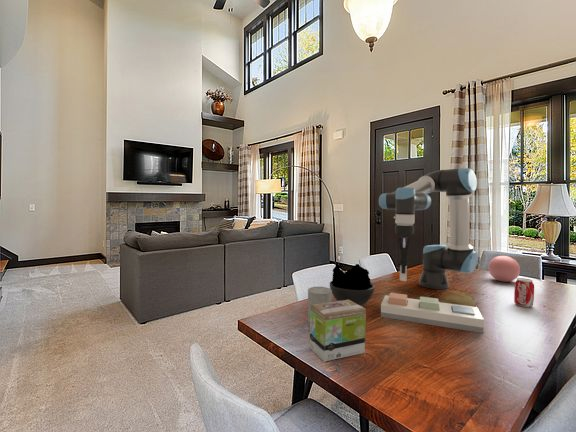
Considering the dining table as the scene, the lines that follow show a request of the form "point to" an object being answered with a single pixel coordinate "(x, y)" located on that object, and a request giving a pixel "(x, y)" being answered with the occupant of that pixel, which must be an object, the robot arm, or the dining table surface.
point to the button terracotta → (397, 299)
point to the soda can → (524, 292)
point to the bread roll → (458, 298)
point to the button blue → (462, 310)
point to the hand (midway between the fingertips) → (403, 280)
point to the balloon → (504, 268)
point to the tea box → (337, 329)
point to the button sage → (429, 303)
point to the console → (433, 315)
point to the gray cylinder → (318, 297)
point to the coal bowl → (352, 285)
